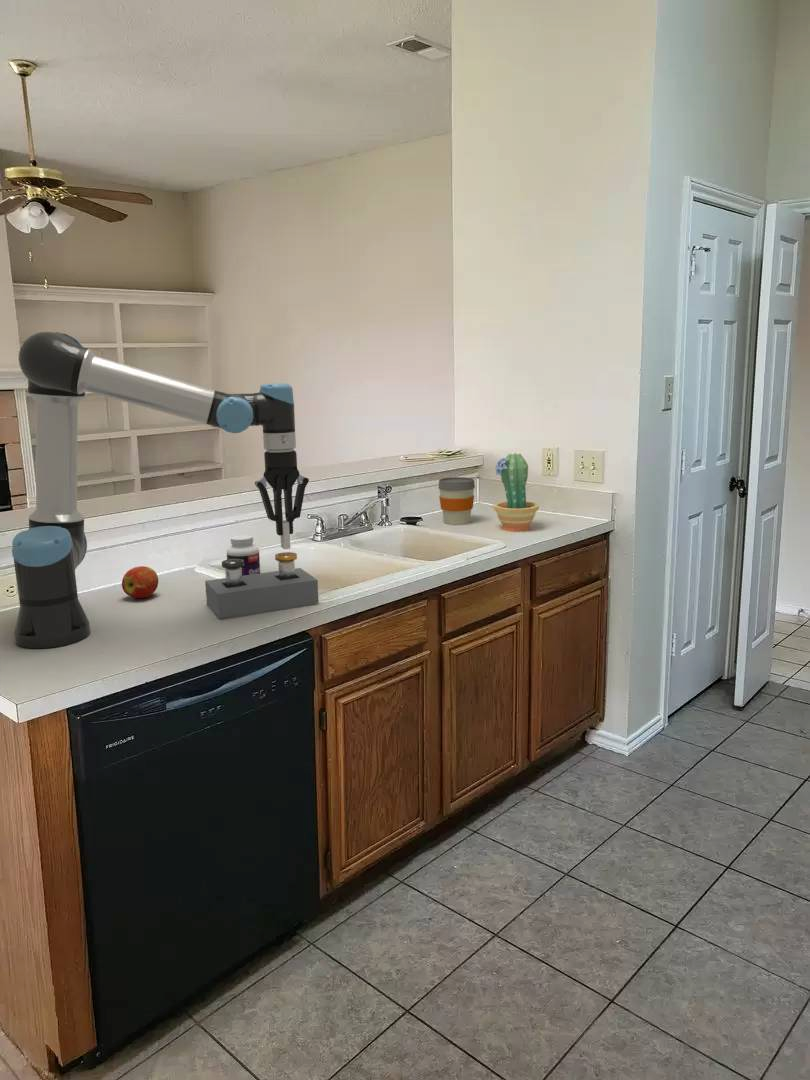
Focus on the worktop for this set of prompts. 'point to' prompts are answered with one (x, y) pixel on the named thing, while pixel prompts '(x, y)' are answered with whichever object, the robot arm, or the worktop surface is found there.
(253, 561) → the pill bottle
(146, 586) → the apple
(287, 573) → the orange capped vial
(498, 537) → the worktop surface
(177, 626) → the worktop surface
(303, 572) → the grey vial holder
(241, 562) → the knob left
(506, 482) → the potted cactus
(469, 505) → the reusable coffee cup
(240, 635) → the worktop surface
